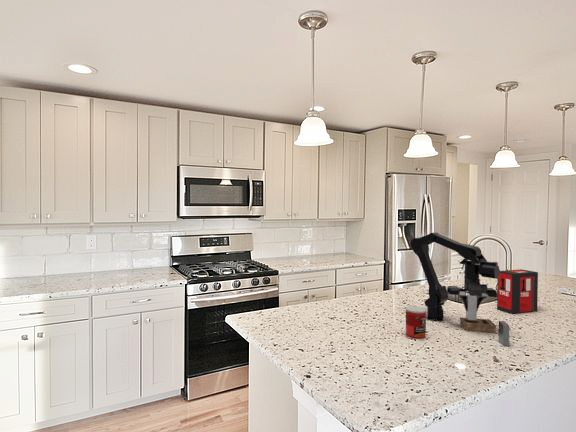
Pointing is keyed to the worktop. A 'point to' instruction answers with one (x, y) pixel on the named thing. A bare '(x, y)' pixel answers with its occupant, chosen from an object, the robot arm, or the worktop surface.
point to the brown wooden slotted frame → (478, 325)
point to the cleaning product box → (517, 291)
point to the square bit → (471, 308)
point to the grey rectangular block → (503, 333)
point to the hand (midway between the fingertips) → (471, 310)
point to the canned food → (415, 322)
